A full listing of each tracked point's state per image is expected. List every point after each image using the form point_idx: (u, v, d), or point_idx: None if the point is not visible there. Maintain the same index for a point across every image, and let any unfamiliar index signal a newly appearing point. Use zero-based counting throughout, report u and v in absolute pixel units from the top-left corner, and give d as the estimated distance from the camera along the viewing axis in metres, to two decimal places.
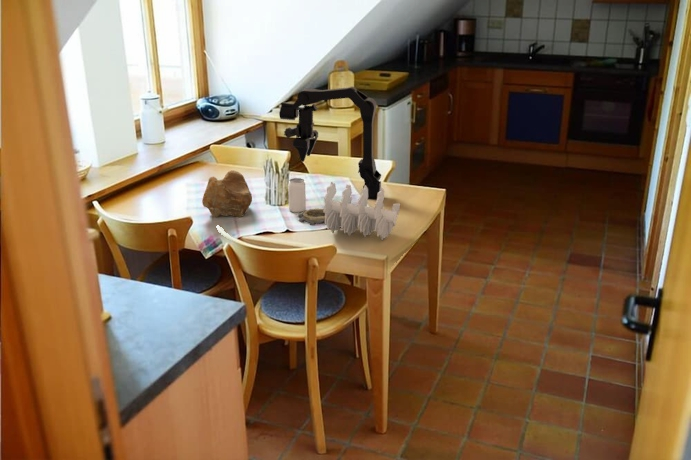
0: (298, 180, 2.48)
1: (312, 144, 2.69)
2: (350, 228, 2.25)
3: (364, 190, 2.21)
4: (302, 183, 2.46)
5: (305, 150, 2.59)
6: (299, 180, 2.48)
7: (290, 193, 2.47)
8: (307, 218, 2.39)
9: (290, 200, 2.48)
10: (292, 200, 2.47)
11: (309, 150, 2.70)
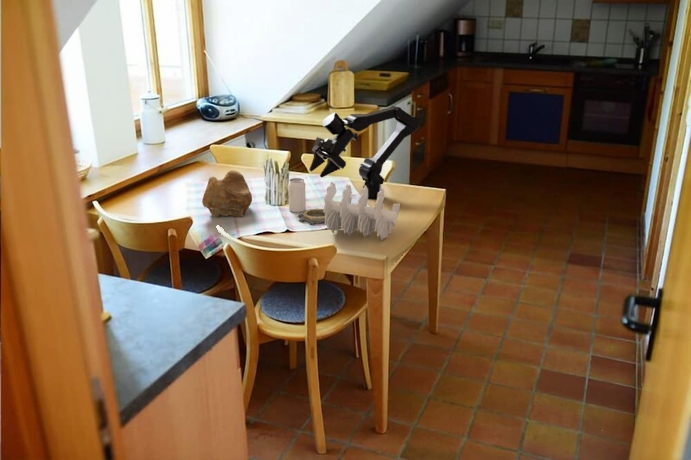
0: (298, 180, 2.48)
1: (320, 163, 2.55)
2: (350, 228, 2.25)
3: (364, 190, 2.21)
4: (302, 183, 2.46)
5: (333, 169, 2.46)
6: (299, 180, 2.48)
7: (290, 193, 2.47)
8: (307, 218, 2.39)
9: (290, 200, 2.48)
10: (292, 200, 2.47)
11: (314, 166, 2.54)
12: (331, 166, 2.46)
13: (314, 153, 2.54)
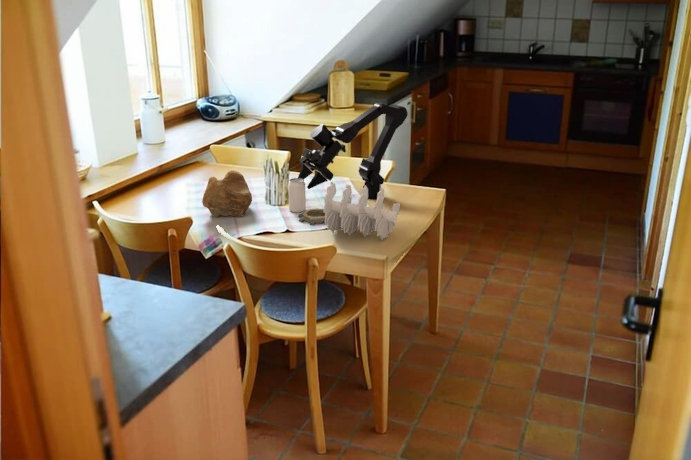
0: (298, 180, 2.48)
1: (307, 174, 2.54)
2: (350, 228, 2.25)
3: (364, 190, 2.21)
4: (302, 183, 2.46)
5: (321, 181, 2.45)
6: (299, 180, 2.48)
7: (290, 193, 2.47)
8: (307, 218, 2.39)
9: (290, 200, 2.48)
10: (292, 200, 2.47)
11: (302, 178, 2.53)
12: (318, 178, 2.45)
13: (302, 164, 2.53)
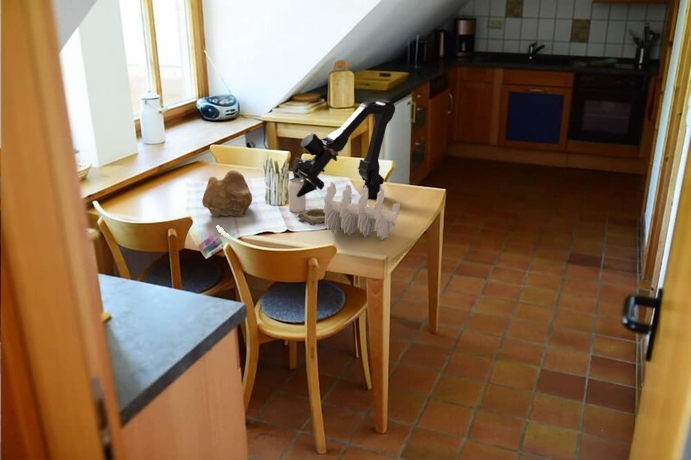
0: (298, 180, 2.48)
1: None
2: (350, 228, 2.25)
3: (364, 190, 2.21)
4: (302, 183, 2.46)
5: (310, 189, 2.45)
6: (299, 180, 2.48)
7: (290, 193, 2.47)
8: (307, 218, 2.39)
9: (290, 200, 2.48)
10: (292, 200, 2.47)
11: None
12: (308, 186, 2.45)
13: (294, 174, 2.51)
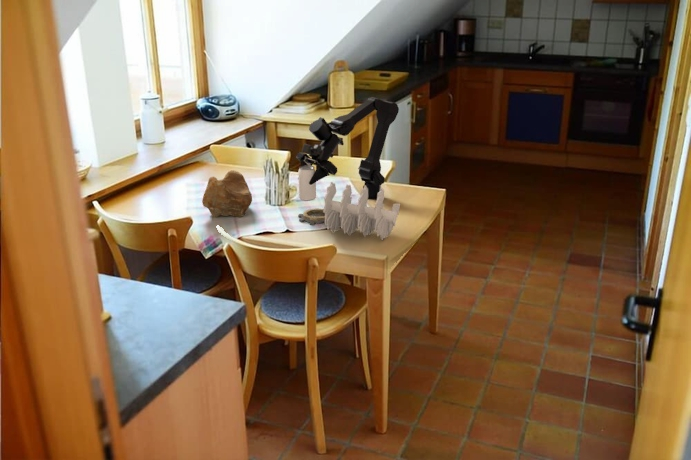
0: (308, 167, 2.40)
1: None
2: (350, 228, 2.25)
3: (364, 190, 2.21)
4: (313, 170, 2.39)
5: (322, 176, 2.39)
6: (309, 167, 2.40)
7: (301, 181, 2.39)
8: (307, 218, 2.39)
9: (301, 188, 2.40)
10: (304, 188, 2.39)
11: None
12: (320, 172, 2.38)
13: (301, 161, 2.43)
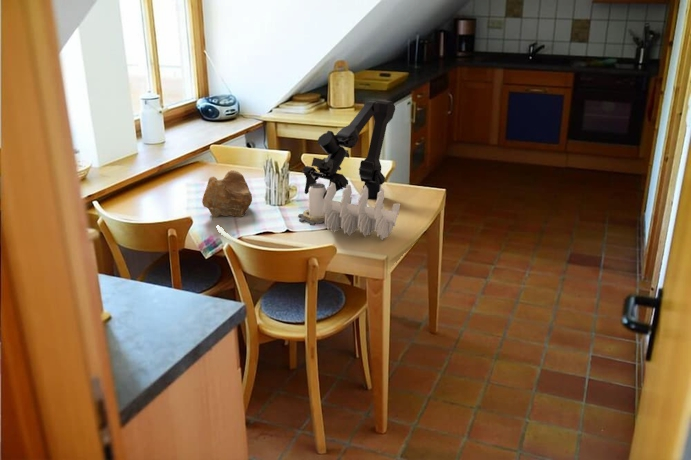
0: (318, 185, 2.39)
1: None
2: (350, 228, 2.25)
3: (364, 190, 2.21)
4: (324, 188, 2.38)
5: (336, 189, 2.37)
6: (319, 185, 2.39)
7: (313, 199, 2.37)
8: (307, 218, 2.39)
9: (313, 207, 2.38)
10: (316, 207, 2.38)
11: None
12: None
13: (307, 174, 2.42)
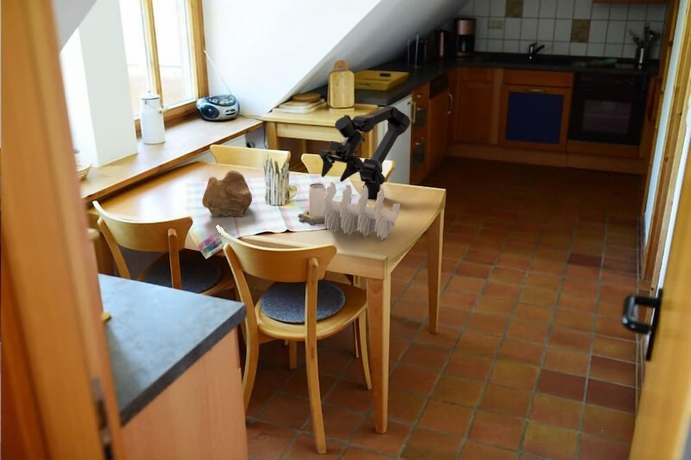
0: (318, 185, 2.39)
1: (329, 168, 2.49)
2: (350, 228, 2.25)
3: (364, 190, 2.21)
4: (324, 188, 2.38)
5: (352, 172, 2.42)
6: (319, 185, 2.39)
7: (313, 199, 2.37)
8: (307, 218, 2.39)
9: (313, 207, 2.38)
10: (316, 207, 2.38)
11: (325, 172, 2.47)
12: (350, 169, 2.42)
13: (324, 158, 2.47)
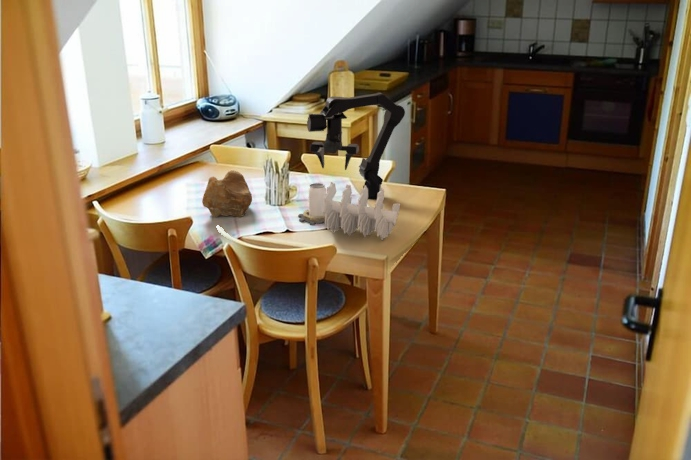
0: (318, 185, 2.39)
1: (323, 155, 2.59)
2: (350, 228, 2.25)
3: (364, 190, 2.21)
4: (324, 188, 2.38)
5: (350, 156, 2.56)
6: (319, 185, 2.39)
7: (313, 199, 2.37)
8: (307, 218, 2.39)
9: (313, 207, 2.38)
10: (316, 207, 2.38)
11: (323, 162, 2.58)
12: None
13: (318, 154, 2.54)
